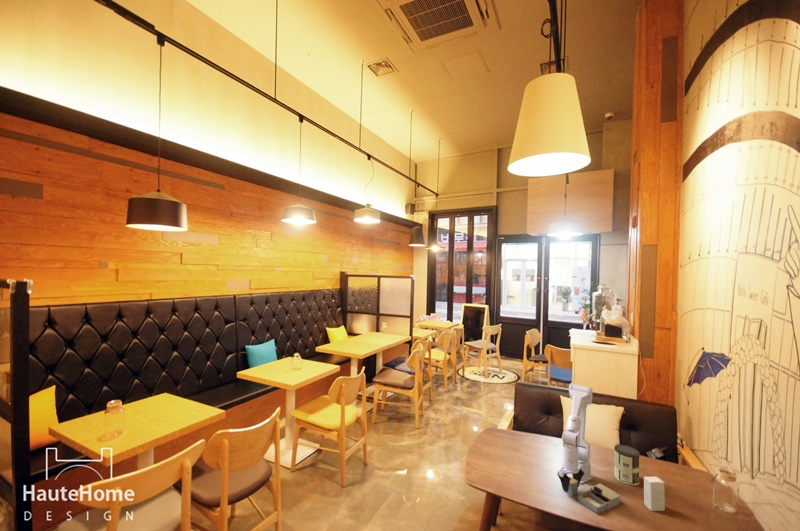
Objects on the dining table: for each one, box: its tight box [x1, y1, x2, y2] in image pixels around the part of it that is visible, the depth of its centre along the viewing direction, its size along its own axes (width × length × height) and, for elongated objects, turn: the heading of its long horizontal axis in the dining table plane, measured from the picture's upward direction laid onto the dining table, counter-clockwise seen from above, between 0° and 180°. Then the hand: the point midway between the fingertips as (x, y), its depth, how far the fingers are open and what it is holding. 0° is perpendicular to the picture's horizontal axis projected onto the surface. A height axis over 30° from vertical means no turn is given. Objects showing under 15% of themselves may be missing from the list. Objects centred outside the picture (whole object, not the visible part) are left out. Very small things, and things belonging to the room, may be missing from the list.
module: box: [563, 476, 579, 498], centre depth 151 cm, size 4×4×6 cm
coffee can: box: [613, 444, 640, 486], centre depth 163 cm, size 10×10×14 cm
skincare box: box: [643, 476, 666, 512], centre depth 142 cm, size 6×4×12 cm
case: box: [577, 488, 621, 515], centre depth 145 cm, size 16×9×3 cm, turn 117°
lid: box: [589, 483, 621, 501], centre depth 147 cm, size 7×9×2 cm
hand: (570, 488), depth 151 cm, fingers open, 7 cm apart
